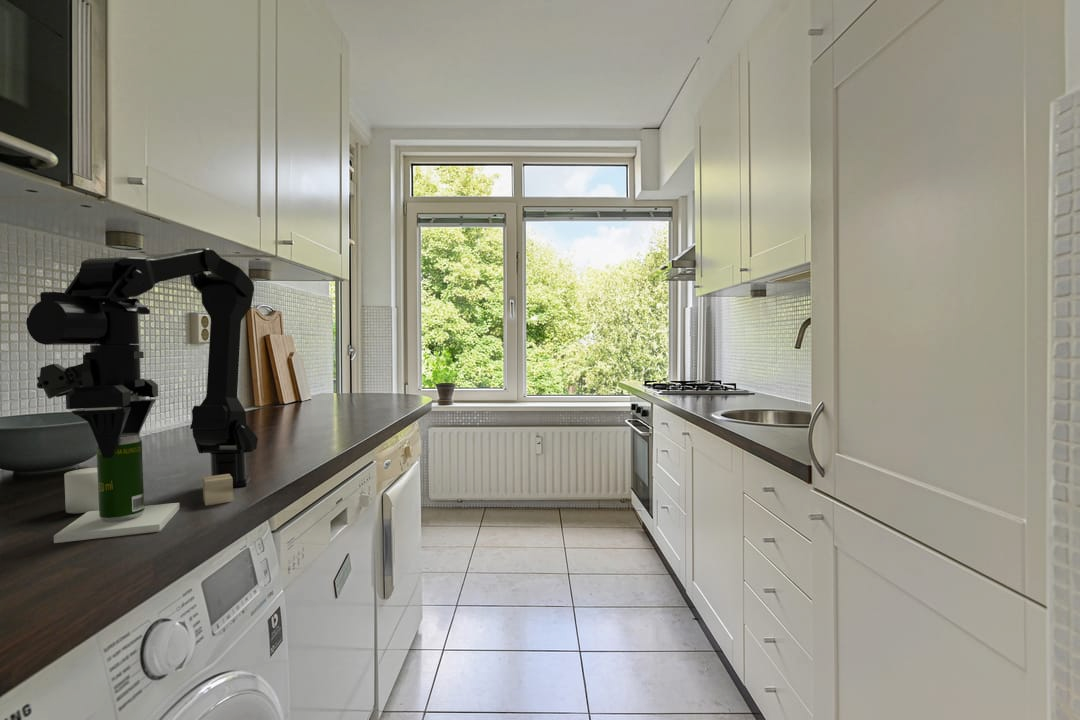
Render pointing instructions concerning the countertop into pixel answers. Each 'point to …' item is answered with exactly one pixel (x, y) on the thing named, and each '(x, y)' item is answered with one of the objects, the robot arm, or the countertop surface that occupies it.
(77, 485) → the rounded cream cube
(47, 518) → the countertop surface
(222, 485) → the maple block
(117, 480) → the beer can
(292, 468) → the countertop surface
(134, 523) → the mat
